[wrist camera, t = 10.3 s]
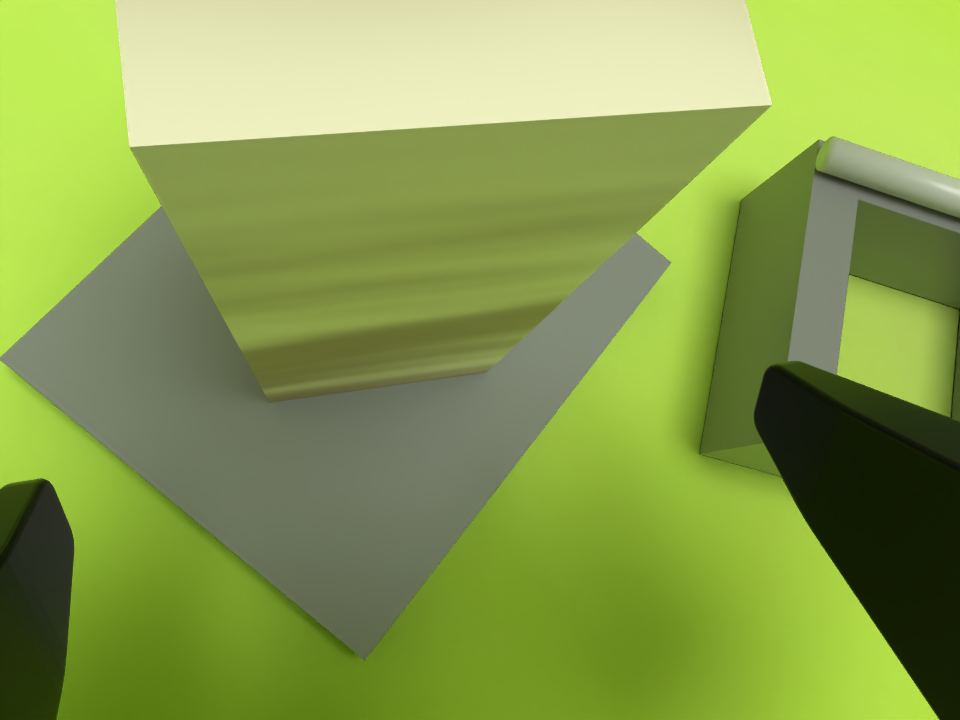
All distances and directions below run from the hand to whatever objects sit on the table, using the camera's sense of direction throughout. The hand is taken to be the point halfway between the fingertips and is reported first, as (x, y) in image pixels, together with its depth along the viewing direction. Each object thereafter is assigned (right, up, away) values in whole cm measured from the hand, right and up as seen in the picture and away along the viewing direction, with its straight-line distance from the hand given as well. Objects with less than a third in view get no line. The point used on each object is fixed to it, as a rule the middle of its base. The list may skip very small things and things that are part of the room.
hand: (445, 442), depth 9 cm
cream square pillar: (-2, +2, +8) cm, 9 cm away
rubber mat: (-2, +2, +9) cm, 10 cm away
